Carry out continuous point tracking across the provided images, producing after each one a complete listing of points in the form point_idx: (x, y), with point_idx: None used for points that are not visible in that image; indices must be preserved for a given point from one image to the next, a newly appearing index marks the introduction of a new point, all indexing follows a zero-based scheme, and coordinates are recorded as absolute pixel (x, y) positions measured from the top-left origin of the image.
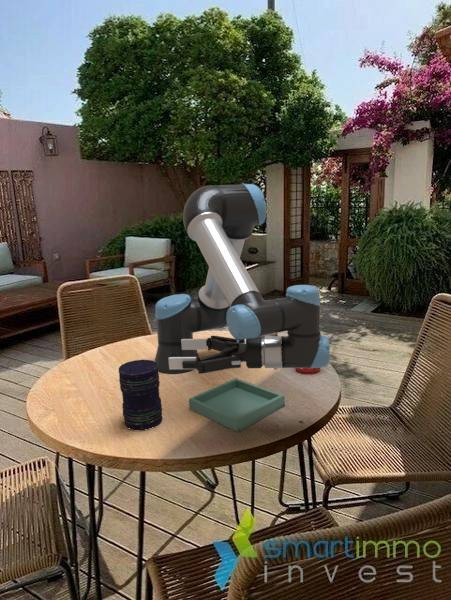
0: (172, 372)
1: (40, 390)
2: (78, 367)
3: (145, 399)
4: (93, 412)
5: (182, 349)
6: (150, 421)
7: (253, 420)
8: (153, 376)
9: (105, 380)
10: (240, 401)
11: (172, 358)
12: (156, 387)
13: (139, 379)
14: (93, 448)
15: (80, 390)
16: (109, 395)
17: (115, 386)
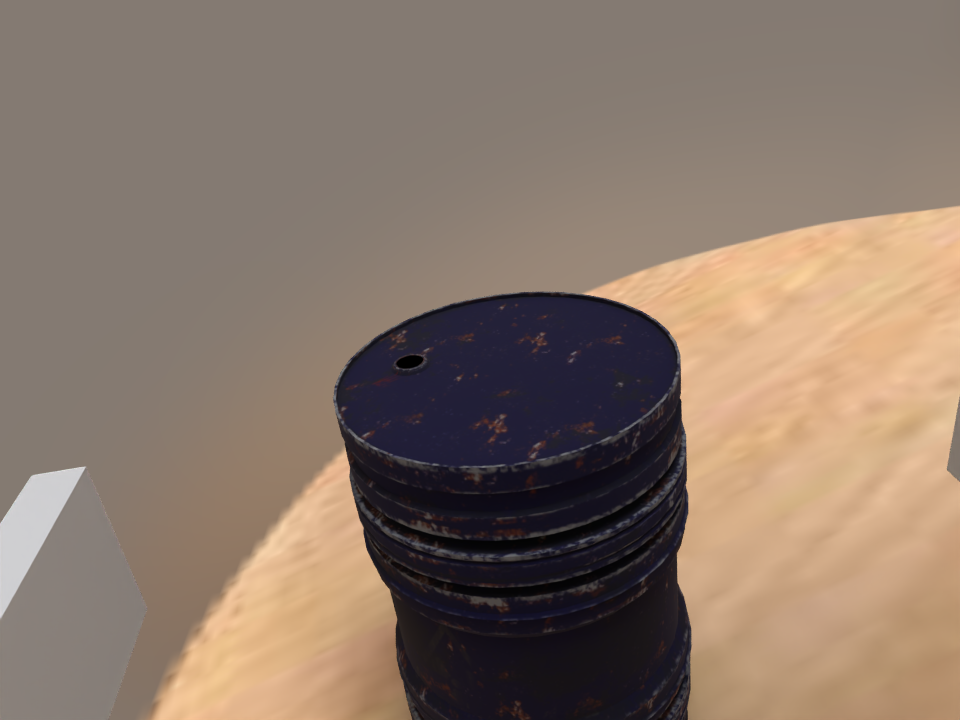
0: None
1: (684, 266)
2: (940, 243)
3: (413, 631)
4: None
5: (953, 469)
6: None
7: None
8: (454, 524)
9: (908, 350)
10: None
11: (6, 520)
12: (501, 623)
13: (353, 467)
14: (233, 619)
15: (752, 335)
16: (772, 430)
17: (881, 405)
